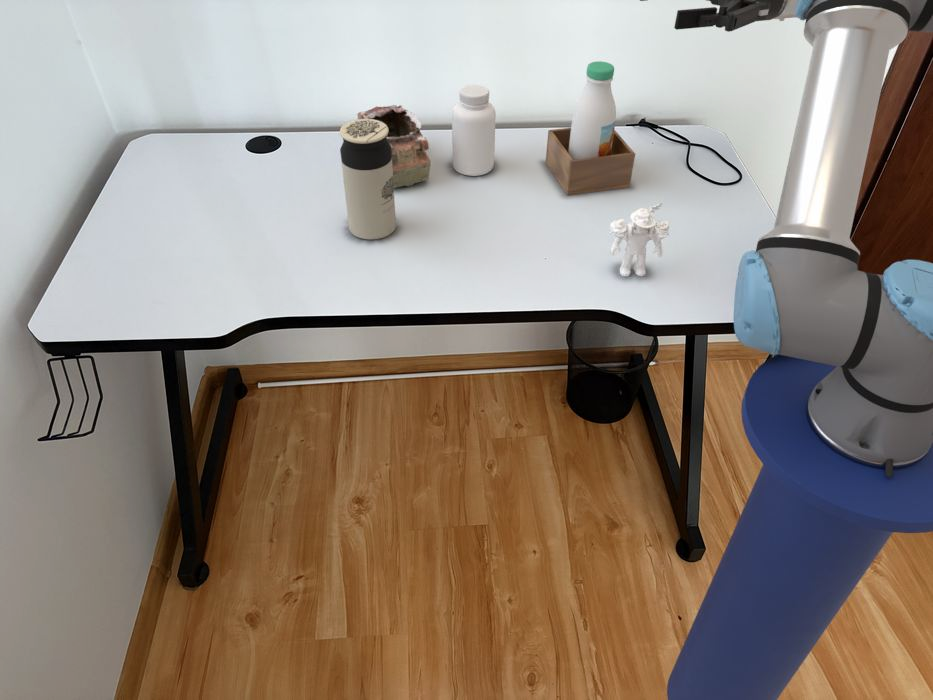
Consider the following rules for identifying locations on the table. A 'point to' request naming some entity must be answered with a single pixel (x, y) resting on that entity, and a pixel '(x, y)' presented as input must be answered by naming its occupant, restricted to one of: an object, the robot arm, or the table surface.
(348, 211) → the travel mug
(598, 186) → the wooden box
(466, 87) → the pill bottle
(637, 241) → the flower shoulder figurine
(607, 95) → the milk bottle
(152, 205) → the table surface
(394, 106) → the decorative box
